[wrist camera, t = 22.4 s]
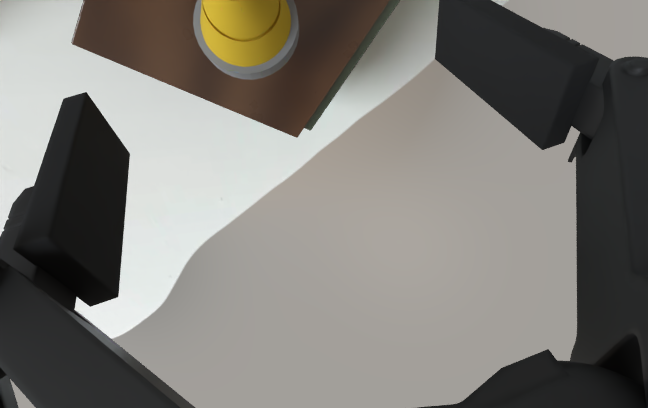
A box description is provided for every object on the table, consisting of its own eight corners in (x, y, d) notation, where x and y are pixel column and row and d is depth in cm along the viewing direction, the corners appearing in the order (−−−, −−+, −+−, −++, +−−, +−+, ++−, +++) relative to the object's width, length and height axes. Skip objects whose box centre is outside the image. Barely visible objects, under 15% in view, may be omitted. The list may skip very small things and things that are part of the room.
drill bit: (198, 66, 23) (102, -35, 13) (241, -11, 23) (178, -173, 13) (274, 110, 23) (237, 43, 13) (318, 33, 23) (314, -93, 13)
